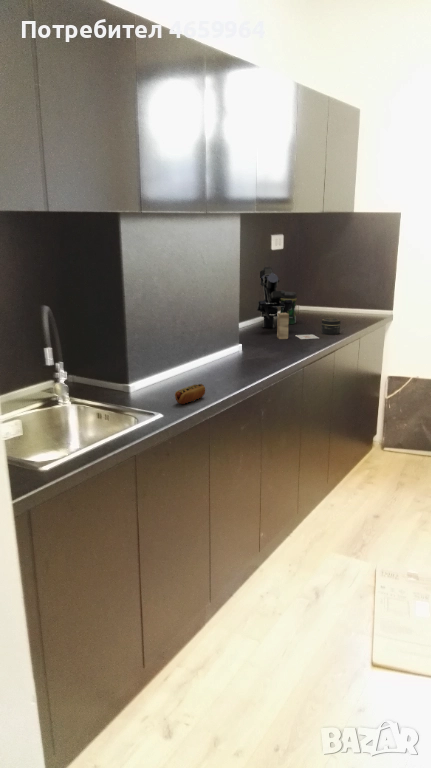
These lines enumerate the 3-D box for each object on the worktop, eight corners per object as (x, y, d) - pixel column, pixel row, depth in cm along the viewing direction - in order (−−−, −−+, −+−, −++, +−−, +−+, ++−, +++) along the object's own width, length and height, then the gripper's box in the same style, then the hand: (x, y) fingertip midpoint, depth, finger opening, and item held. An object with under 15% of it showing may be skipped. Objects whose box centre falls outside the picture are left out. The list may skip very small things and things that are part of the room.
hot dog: (171, 404, 195) (171, 390, 194) (196, 395, 205) (196, 381, 204) (182, 407, 192) (182, 392, 191) (207, 397, 202) (207, 383, 201)
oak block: (277, 337, 301) (277, 313, 297) (285, 337, 302) (286, 312, 298) (279, 339, 297) (280, 314, 293) (288, 339, 297) (288, 314, 294)
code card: (294, 335, 306) (294, 335, 306) (312, 335, 308) (312, 334, 307) (301, 339, 296) (301, 339, 296) (319, 338, 298) (319, 338, 298)
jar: (343, 333, 312) (343, 319, 310) (335, 336, 304) (335, 322, 302) (326, 331, 318) (326, 317, 315) (317, 334, 310) (318, 320, 308)
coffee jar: (277, 324, 340) (278, 292, 335) (281, 321, 347) (281, 290, 342) (294, 325, 337) (295, 292, 331) (297, 322, 344) (298, 291, 339)
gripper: (258, 285, 304) (263, 309, 296) (292, 284, 307) (298, 308, 300) (254, 298, 313) (259, 322, 306) (287, 297, 317) (293, 320, 309)
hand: (277, 318), depth 305 cm, fingers open, 9 cm apart
